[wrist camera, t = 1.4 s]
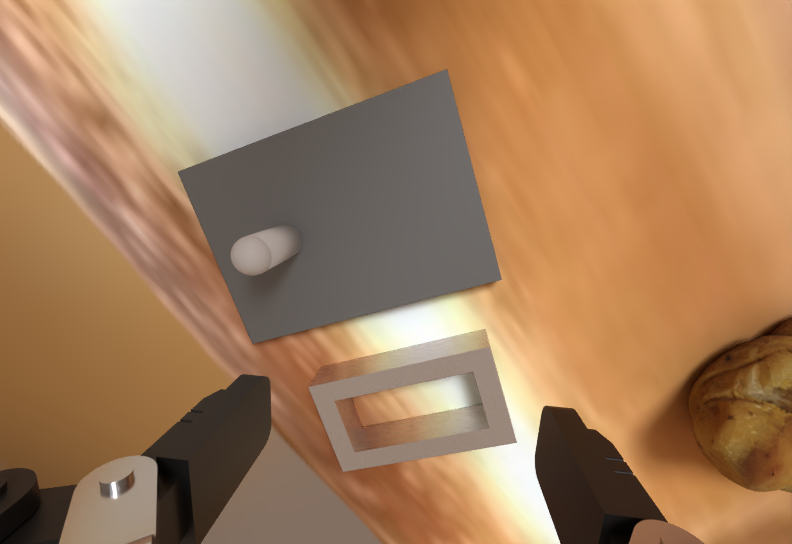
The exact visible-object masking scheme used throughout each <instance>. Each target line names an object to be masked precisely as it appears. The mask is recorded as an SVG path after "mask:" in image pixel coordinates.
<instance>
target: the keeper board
mask: <svg viewBox="0 0 792 544" xmlns="http://www.w3.org/2000/svg"><path fill="white" fill-rule="evenodd" d="M178 174H179V176H180V178H181V181H182V183H183V185H184V188H185V190H186V192H187V194H188V197H189V199H190V201H191V204H192V206H193V208H194V211H195V213H196V215H197V217H198V220H199V222H200V224H201V227H202V229H203V231H204V233H205V236H206V238H207V240H208V243H209V245H210V247H211V250H212V252H213V254H214V256H215V259H216V261H217V263H218V266H219V268H220V270H221V273H222V275H223V277H224V279H225V282H226V284H227V286H228V289H229V291H230V293H231V295H232V298H233V300H234V302H235V305H236V307H237V309H238V312H239V314H240V316H241V318H242V321H243V323H244V325H245V328H246V330H247V332H248V335H249V337H250V339H251V341H252V344H254V343H258V342H262V341H266V340H269V339H273V338H277V337H281V336H285V335H289V334H293V333H297V332H301V331H304V330H308V329H312V328H316V327H320V326H324V325H328V324H332V323H336V322H339V321H343V320H347V319H351V318H355V317H359V316H363V315H367V314H370V313H374V312H378V311H382V310H386V309H390V308H394V307H398V306H402V305H405V304H409V303H413V302H417V301H421V300H425V299H429V298H433V297H437V296H440V295H444V294H448V293H452V292H456V291H460V290H464V289H468V288H472V287H475V286H479V285H483V284H487V283H491V282H495V281H499V280H502V279H501V275H500V271H499V267H498V263H497V259H496V256H495V252H494V248H493V244H492V240H491V236H490V232H489V229H488V225H487V221H486V217H485V213H484V209H483V206H482V202H481V198H480V194H479V190H478V186H477V182H476V179H475V175H474V171H473V167H472V163H471V159H470V156H469V152H468V148H467V144H466V140H465V136H464V133H463V129H462V125H461V121H460V117H459V113H458V109H457V106H456V102H455V98H454V94H453V90H452V86H451V83H450V79H449V75H448V71H447V69H446V70H443V71H441V72H438V73H435V74H433V75H430V76H428V77H425V78H422V79H420V80H417V81H414V82H412V83H409V84H407V85H404V86H401V87H399V88H396V89H393V90H391V91H388V92H386V93H383V94H380V95H378V96H375V97H373V98H370V99H367V100H365V101H362V102H359V103H357V104H354V105H352V106H349V107H346V108H344V109H341V110H338V111H336V112H333V113H331V114H328V115H325V116H323V117H320V118H318V119H315V120H312V121H310V122H307V123H304V124H302V125H299V126H297V127H294V128H291V129H289V130H286V131H283V132H281V133H278V134H276V135H273V136H270V137H268V138H265V139H263V140H260V141H257V142H255V143H252V144H249V145H247V146H244V147H242V148H239V149H236V150H234V151H231V152H228V153H226V154H223V155H221V156H218V157H215V158H213V159H210V160H208V161H205V162H202V163H200V164H197V165H194V166H192V167H189V168H187V169H184V170H181V171H179V172H178Z"/></svg>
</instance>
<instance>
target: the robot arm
mask: <svg viewBox="0 0 792 544" xmlns="http://www.w3.org/2000/svg"><path fill="white" fill-rule="evenodd" d="M270 430H271V391H270V380H269V378H268V377H265V376H255V375H245V374H243V375H240V376H239V377H238V378H237V379H236V380H235V381H234V382H233V383H232V384H231V385H230V386H229V387H228V388H227V389H226V390H223V389H221V390H219V391H217V392H215V393H213V394H211V395H209V396H207V397H205V398H204V399H203V400H201V401H200V402H199V403H198V404H197V405H196V406H195V407H194V408H193V409H191V412H188V413H187V414H186V415H185V416H184V417H183V418H182V419H181V420H180V422H177V423H176V424H175V425H174V426H173V427H172V428H170V429H169V430H168V431H167V432H166V433H165V434H164V435H163V436H162V437H161V438H159V439H158V440H157V441H156V442H155V443H154V444H153V445H152V446H151V447H150V448H148V449H147V450H146V451H145V452H144V453H143V454H142V455H141V456H129V457H125V458H120V459H117V460H114V461H111V462H109V463H106V464H104V465H102V466H100V467H99V468H97V469H95V470H94V471H92V472H91V473H89V474H88V475H87V476H86V477H84V478H83V479H82V480H81V481H80V482H79V484H78V485H70V486H62V487H55V488H47V489H39V486H38V482H37V476H36V474H35V472H34V471H32V470H30V469H24V468H14V469H7V470H2V471H0V544H201V542H202V541H203V539H204V537H205V536H206V534H207V533H208V531H209V529H210V528H211V527H212V525H213V524H214V522H215V521H216V519H217V518H218V516H219V515H220V513H221V512H222V510H223V509H224V507H225V506H226V504H227V503H228V501H229V499H230V498H231V497H232V495H233V493H234V492H235V490H236V489H237V487H238V486H239V484H240V483H241V481H242V480H243V478H244V477H245V475H246V474H247V472H248V471H249V469H250V468H251V466H252V465H253V463H254V462H255V460H256V459H257V457H258V456H259V454H260V452H261V451H262V449H263V448H264V446H265V445H266V443H267V440H268V438H269V434H270ZM535 469H536V475H537V479H538V482H539V484H540V487H541V490H542V493H543V496H544V498H545V501H546V504H547V507H548V510H549V512H550V515H551V518H552V521H553V523H554V526H555V529H556V532H557V535H558V537H559V540H560V543H561V544H704V543H703V542H702V541H700V540H699V539H698V538H696V537H695V536H693V535H692V534H691V533H689V532H687V531H685V530H684V529H682V528H680V527H677V526H675V525H673V524H670V523H668V522H667V520H666V519H665V517H664V516H663V515H662V513H661V512H660V510H659V509H658V507H657V506H656V505H655V503H654V502H653V500H652V499H651V498H650V496H649V495H648V493H647V492H646V490H645V489H644V488H643V486H642V485H641V483H640V482H639V481H638V479H637V478H636V476H634V475H633V472H632V471H631V469H630V468H629V466H628V465H627V463H626V462H624V461H623V458H622V456H621V455H620V454H619V452H618V451H617V449H616V448H615V446H614V445H613V444H612V443H611V442H610V441H609V440H607V439H606V438H605V437H604V436H602V435H601V434H600V433H599V432H598V431H596V430H593V429H587V427H586V426H585V424H584V423H583V421H582V420H581V418H580V417H579V415H578V413H577V412H576V411H575V410H574V409H573V408H563V407H553V406H545V407H544V408H543V410H542V414H541V420H540V427H539V433H538V439H537V446H536V452H535Z"/></svg>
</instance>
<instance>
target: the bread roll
mask: <svg viewBox="0 0 792 544" xmlns="http://www.w3.org/2000/svg"><path fill="white" fill-rule="evenodd" d="M688 405H689V414H690V418H691V421H692V424H693V426H692V430H693V433H694V437H695V440H696V442H697V445H698V447H699V448H700V450H701V451H702V453H703V454H704V455H705V456H706V457H707V459H708V460H709V461H710V462H711V463H712V464H713V465H714V466H715V467H716V468H717V469H718V470H719V472H720V473H721V474H722V475H724V476H725V477H726V478H727V479H729V480H731V481H733V482H734V483H736V484H738V485H740V486H742V487H744V488H746V489H749V490H753V491H758V492H767V491H775V490H782V491H786V492H790V493H792V318H790V319H789V320H787V321H786V322H784V323H782V324H781V325H780V326H779V327H778V328H777V329H775V330H774V331H773V332H772V333H771V334H770V335H769V336H762V337H758V338H755V339H753V340H751V341H749V342H746V343H743V344H740V345H738V346H736V347H735V348H734V349H733V350H731V351H729V352H727V353H725V354H724V355H722V356H721V357H720V358H718V359H717V360H716V361H714V362H713V363H711V364H710V365H709V366H708V367H707V368H706V369H705V370H704V372H703V373H702V374H701V376H700V377H699V378H698V379H697V380H696V382H695V384H694V385H693V387H692V388H691V390H690V393H689V404H688Z"/></svg>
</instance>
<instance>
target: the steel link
mask: <svg viewBox="0 0 792 544" xmlns="http://www.w3.org/2000/svg"><path fill="white" fill-rule="evenodd" d="M469 372H473V373H474V377H475V380H476V383H477V387H478V390H479V393H480V397H481V400H482V404H481V405H476V406H471V407H466V408H461V409H455V410H450V411H445V412H440V413H435V414H429V415H424V416H419V417H414V418H409V419H403V420H398V421H393V422H388V423H383V424H377V425H372V426H367V427H362V424H361V421H360V419H359V416H358V414H357V411H356V408H355V406H354V403H353V401H352V398H351V397H356V396H360V395H365V394H370V393H375V392H379V391H384V390H389V389H393V388H398V387H403V386H408V385H412V384H417V383H422V382H427V381H431V380H436V379H441V378H446V377H450V376H455V375H460V374H464V373H469ZM308 388H309V390H310V393H311V395H312V398H313V400H314V403H315V405H316V407H317V410H318V412H319V415H320V417H321V420H322V422H323V424H324V427H325V429H326V432H327V434H328V437H329V439H330V441H331V444H332V446H333V449H334V451H335V454H336V456H337V459H338V461H339V463H340V466H341V468H342V471H343V472H345V471H351V470H357V469H363V468H369V467H375V466H381V465H387V464H393V463H399V462H405V461H411V460H417V459H423V458H429V457H434V456H440V455H446V454H452V453H458V452H464V451H470V450H476V449H482V448H488V447H494V446H500V445H506V444H512V443H517V442H516V438H515V434H514V430H513V427H512V423H511V419H510V415H509V412H508V408H507V405H506V401H505V398H504V394H503V390H502V387H501V383H500V380H499V376H498V372H497V369H496V365H495V362H494V358H493V355H492V351H491V347H490V344H489V340H488V337H487V333H486V330H485V329H483V330H478V331H474V332H470V333H466V334H461V335H457V336H453V337H448V338H444V339H440V340H436V341H431V342H427V343H423V344H418V345H414V346H410V347H406V348H401V349H397V350H393V351H388V352H384V353H380V354H375V355H371V356H367V357H363V358H358V359H354V360H350V361H345V362H341V363H337V364H333V365H328V366H324V367H321V368H320V369H319V371H318V373H317V374H316V376H315V377H314V379H313V380H312V382H311V384H310V385H309V387H308Z"/></svg>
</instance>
